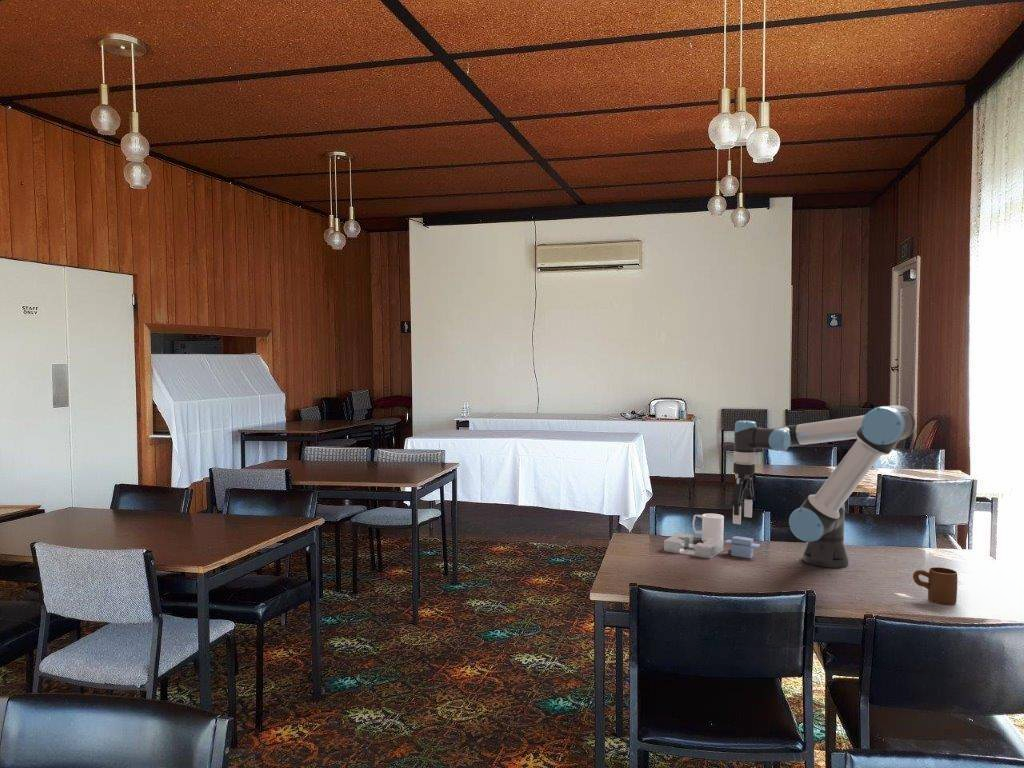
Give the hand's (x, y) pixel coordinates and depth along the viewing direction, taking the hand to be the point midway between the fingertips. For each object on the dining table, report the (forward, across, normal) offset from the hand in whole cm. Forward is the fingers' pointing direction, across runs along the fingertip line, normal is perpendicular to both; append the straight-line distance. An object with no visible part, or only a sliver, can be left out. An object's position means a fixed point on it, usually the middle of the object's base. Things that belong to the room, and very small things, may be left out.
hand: (742, 520), depth 275 cm
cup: (+13, -14, -18) cm, 26 cm away
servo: (+13, 0, 0) cm, 13 cm away
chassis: (+13, +4, -17) cm, 22 cm away
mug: (+13, +16, +63) cm, 67 cm away
